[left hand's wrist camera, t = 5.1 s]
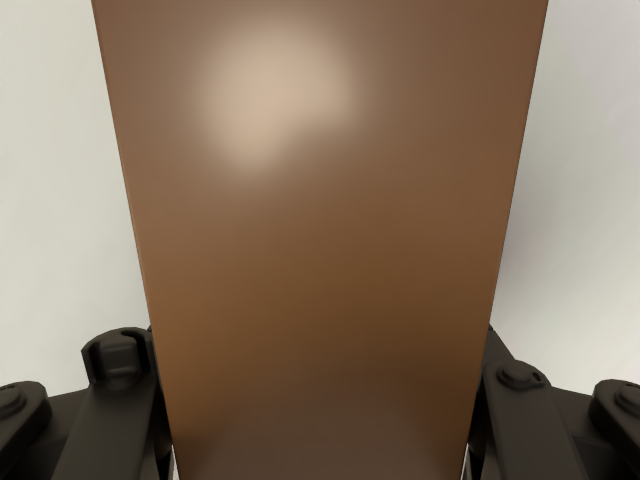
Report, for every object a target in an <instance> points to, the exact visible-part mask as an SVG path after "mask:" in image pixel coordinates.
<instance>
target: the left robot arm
mask: <svg viewBox="0 0 640 480" xmlns="http://www.w3.org/2000/svg"><path fill="white" fill-rule="evenodd" d="M81 353H82V357H83V361H84V364H85V368H86V372H87V376H88V379H89V383H90V384H89V387H88V388H86V389H83V390H79V391H75V392H71V393H66V394H62V395H57V396H52V397H48V395H47V392H46V389H45V387H44V386H43V385H42V384H40V383H39V382H33V381H23V382H15V383H12V384H8V385H5V386H2V387H0V480H173V471H174V457H173V451H172V444H173V443H172V437H171V432H170V426H169V421H168V416H167V410H166V405H165V399H164V394H163V388H162V383H161V377H160V372H159V367H158V361H157V356H156V350H155V345H154V339H153V334H152V329H151V325H150V326H149V327H148V329H147V331H146V330H145V329H141V328H137V327H124V328H119V329H115V330H110V331H108V332H105V333H103V334H101V335H98V336H96V337H95V338H93V339H92V340H91V341H89V342H88V343H87V344H86V345H85V346H84V347H83V349H82V350H81ZM467 443H468V445H469V446H468V451H467V456H466V462H465V467H464V473H463V478H462V480H640V385H638V384H634V383H632V382H628V381H623V380H615V379H609V380H603V381H600V382H599V383H598V384H597V385H595V388H594V391H593V394H592V396H591V395H586V394H581V393H577V392H572V391H568V390H563V389H559V388H556V387H552V386H551V383H550V382H549V380H548V379H547V378H546V376H545V375H544V374H543V373H542V372H540V371H539V370H538V369H536V368H535V367H533V366H531V365H529V364H527V363H525V362H523V361H519V360H515V359H514V357H513V356H512V354H511V353H510V352H509V350H508V349H507V347H506V346H505V345H504V343H503V342H502V340H501V339H500V337H499V336H498V335H497V333H496V332H495V331H493V328H492V326H491V325H490V323H489V327H488V332H487V338H486V343H485V349H484V354H483V360H482V365H481V370H480V376H479V381H478V387H477V392H476V398H475V403H474V409H473V414H472V419H471V425H470V430H469V436H468V441H467Z"/></svg>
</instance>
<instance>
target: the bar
mask: <svg viewBox="0 0 640 480" xmlns="http://www.w3.org/2000/svg"><path fill="white" fill-rule="evenodd" d="M91 3H92V8H93V13H94V19H95V24H96V30H97V35H98V41H99V46H100V51H101V57H102V62H103V68H104V73H105V79H106V84H107V89H108V95H109V100H110V106H111V111H112V117H113V122H114V128H115V133H116V138H117V144H118V149H119V155H120V160H121V166H122V171H123V176H124V182H125V187H126V193H127V198H128V204H129V209H130V214H131V220H132V225H133V231H134V236H135V242H136V247H137V253H138V258H139V263H140V269H141V274H142V280H143V285H144V291H145V296H146V301H147V307H148V312H149V318H150V323H151V329H152V334H153V339H154V345H155V350H156V356H157V361H158V367H159V372H160V377H161V383H162V388H163V394H164V399H165V405H166V410H167V416H168V421H169V426H170V432H171V437H172V443H173V448H174V454H175V459H176V464H177V470H178V475H179V480H460V479H461V474H462V468H463V463H464V458H465V452H466V447H467V441H468V436H469V430H470V425H471V419H472V414H473V409H474V403H475V398H476V392H477V387H478V381H479V376H480V370H481V365H482V360H483V354H484V349H485V343H486V338H487V332H488V327H489V321H490V316H491V311H492V305H493V300H494V294H495V289H496V283H497V278H498V273H499V267H500V262H501V256H502V251H503V245H504V240H505V234H506V229H507V224H508V218H509V213H510V207H511V202H512V196H513V191H514V185H515V180H516V175H517V169H518V164H519V158H520V153H521V147H522V142H523V137H524V131H525V126H526V120H527V115H528V109H529V104H530V98H531V93H532V88H533V82H534V77H535V71H536V66H537V60H538V55H539V49H540V44H541V39H542V33H543V28H544V22H545V17H546V11H547V6H548V0H91Z"/></svg>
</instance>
